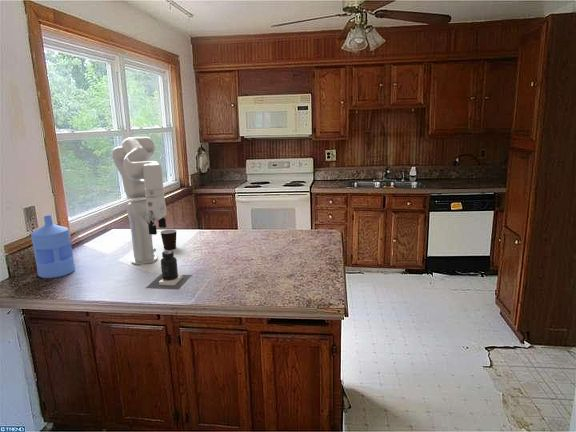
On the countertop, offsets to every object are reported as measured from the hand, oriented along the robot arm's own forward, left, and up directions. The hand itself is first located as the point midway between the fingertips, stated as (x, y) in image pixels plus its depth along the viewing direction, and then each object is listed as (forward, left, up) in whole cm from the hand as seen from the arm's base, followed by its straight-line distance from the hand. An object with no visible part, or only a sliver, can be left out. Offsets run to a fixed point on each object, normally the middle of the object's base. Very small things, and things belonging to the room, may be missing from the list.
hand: (157, 230), depth 173 cm
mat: (+3, +4, -23) cm, 24 cm away
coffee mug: (-45, -16, -23) cm, 54 cm away
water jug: (-4, -56, -23) cm, 61 cm away
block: (+3, +2, -22) cm, 22 cm away
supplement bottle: (+2, +5, -21) cm, 22 cm away
